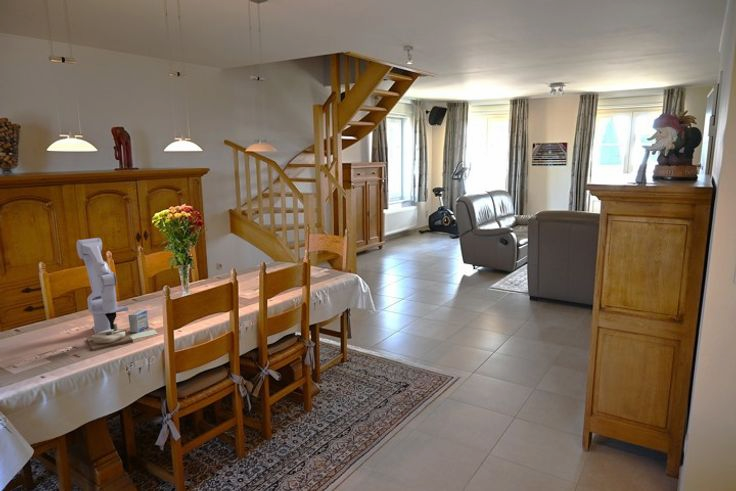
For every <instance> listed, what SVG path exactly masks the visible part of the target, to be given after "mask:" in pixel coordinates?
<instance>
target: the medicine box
mask: <svg viewBox="0 0 736 491" xmlns="http://www.w3.org/2000/svg"><path fill="white" fill-rule="evenodd" d="M148 316H149V315H148V311H147V310H145V309H140V310H137V311H135V312H133V313H130V314H128V322H129V324H128V325H129V332H130V333H134V334H135V333H140V332H144V331H145V330H146V329H148V328H149V317H148Z"/></svg>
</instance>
